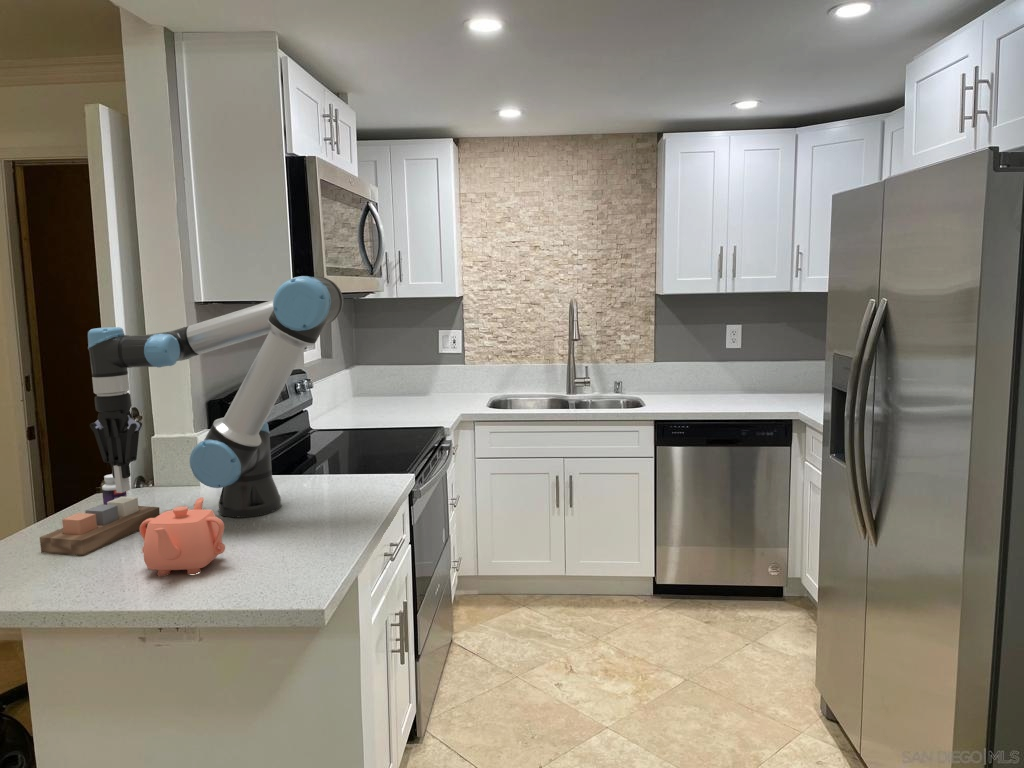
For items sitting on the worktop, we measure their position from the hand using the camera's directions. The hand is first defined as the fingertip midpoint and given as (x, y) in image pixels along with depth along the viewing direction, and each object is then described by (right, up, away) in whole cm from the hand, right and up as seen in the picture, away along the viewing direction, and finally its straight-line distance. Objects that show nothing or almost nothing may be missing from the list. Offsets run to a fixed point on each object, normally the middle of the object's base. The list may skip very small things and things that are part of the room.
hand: (123, 491), depth 180 cm
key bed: (-2, -10, -5) cm, 11 cm away
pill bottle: (-9, -8, +13) cm, 17 cm away
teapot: (+26, -12, -25) cm, 38 cm away
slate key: (-2, -8, -5) cm, 10 cm away
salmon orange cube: (-4, -9, -11) cm, 15 cm away
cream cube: (0, -7, +1) cm, 7 cm away
